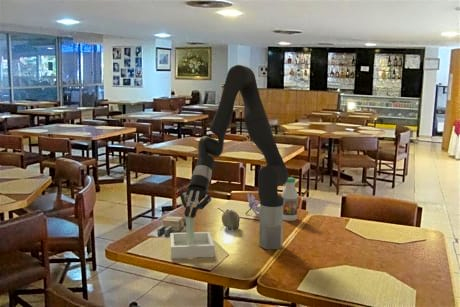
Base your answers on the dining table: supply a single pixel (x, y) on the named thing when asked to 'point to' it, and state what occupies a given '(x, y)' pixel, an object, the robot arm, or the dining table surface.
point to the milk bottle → (290, 200)
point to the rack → (167, 230)
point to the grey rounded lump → (230, 219)
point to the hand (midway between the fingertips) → (189, 216)
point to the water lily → (253, 205)
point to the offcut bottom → (175, 226)
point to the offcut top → (172, 221)
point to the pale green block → (189, 230)
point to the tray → (198, 248)
